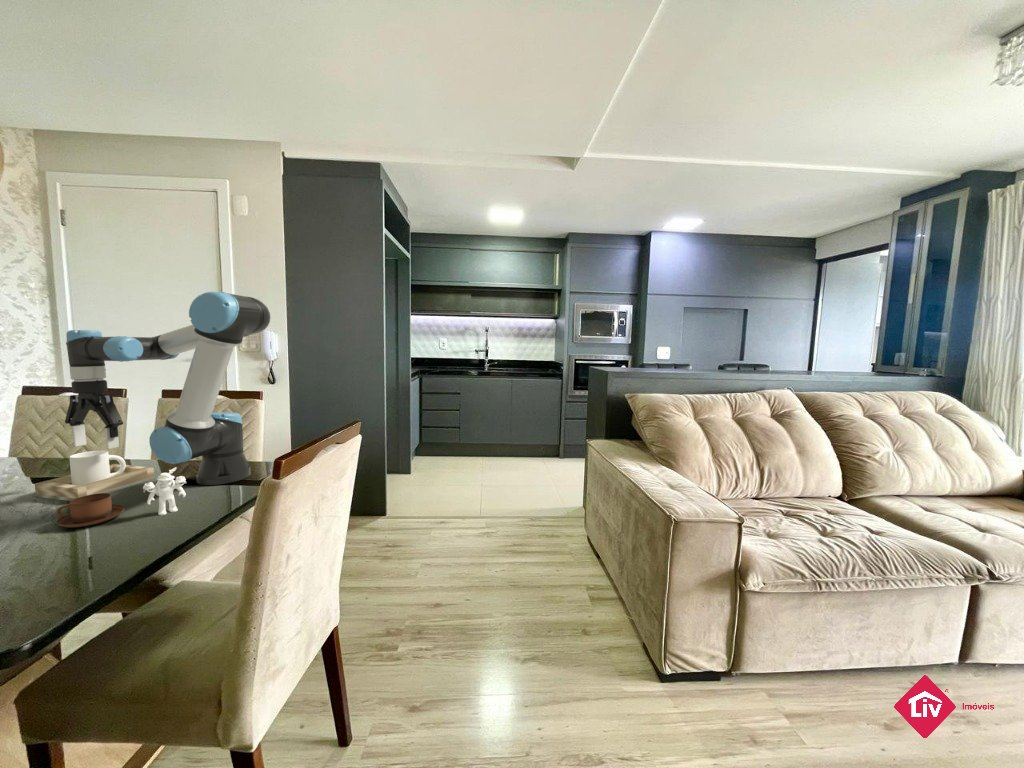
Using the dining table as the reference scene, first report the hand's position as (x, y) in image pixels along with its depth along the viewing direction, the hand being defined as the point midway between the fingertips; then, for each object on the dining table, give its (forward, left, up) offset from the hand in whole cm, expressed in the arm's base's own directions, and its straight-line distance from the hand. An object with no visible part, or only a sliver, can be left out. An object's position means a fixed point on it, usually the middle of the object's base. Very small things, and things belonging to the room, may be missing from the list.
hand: (96, 446), depth 122 cm
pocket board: (0, 0, -13) cm, 13 cm away
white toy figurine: (-39, +9, -14) cm, 42 cm away
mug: (0, 0, -13) cm, 13 cm away
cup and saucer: (-26, +18, -14) cm, 34 cm away
